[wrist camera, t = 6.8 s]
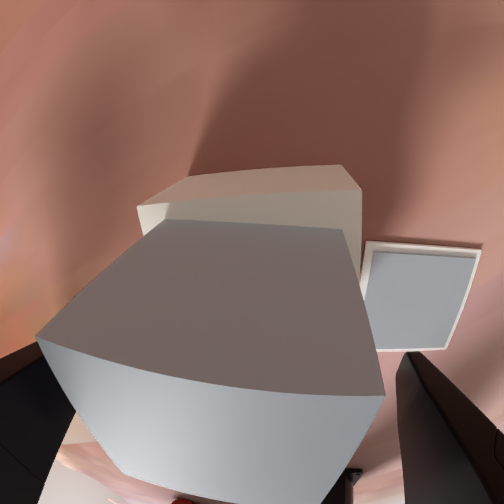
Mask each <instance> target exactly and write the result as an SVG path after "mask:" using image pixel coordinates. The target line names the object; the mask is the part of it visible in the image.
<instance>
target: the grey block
mask: <svg viewBox="0 0 504 504" xmlns="http://www.w3.org/2000/svg"><path fill="white" fill-rule="evenodd" d="M35 338H36V340H37V342H38V344H39V346H40V348H41V350H42V352H43V354H44V356H45V358H46V360H47V362H48V364H49V366H50V368H51V370H52V371H53V373H54V375H55V377H56V379H57V380H58V382H59V384H60V386H61V387H62V389H63V391H64V392H65V394H66V396H67V397H68V399H69V401H70V402H71V404H72V405H73V407H74V409H75V410H76V412H77V413H78V415H79V416H80V417H81V419H82V421H83V422H84V424H85V425H86V426H87V428H88V429H89V431H90V432H91V434H92V435H93V436H94V438H95V439H96V440H97V442H98V443H99V444H100V446H101V447H102V448H103V450H104V451H105V452H106V453H107V455H108V456H109V457H110V458H111V460H112V461H113V462H114V463H115V465H116V466H117V467H118V468H119V469H120V471H121V472H122V473H123V474H126V475H129V476H131V477H134V478H137V479H140V480H143V481H146V482H149V483H152V484H155V485H158V486H161V487H165V488H168V489H172V490H175V491H179V492H183V493H187V494H191V495H195V496H200V497H204V498H209V499H214V500H219V501H224V502H230V503H236V504H321V502H322V501H323V500H324V498H325V497H326V495H327V494H328V493H329V491H330V490H331V488H332V487H333V485H334V484H335V483H336V481H337V480H338V478H339V477H340V475H341V474H342V472H343V471H344V469H345V467H346V466H347V464H348V463H349V461H350V460H351V458H352V456H353V455H354V453H355V451H356V450H357V448H358V446H359V445H360V443H361V441H362V440H363V438H364V436H365V434H366V432H367V431H368V429H369V427H370V425H371V423H372V422H373V420H374V418H375V416H376V414H377V412H378V410H379V408H380V406H381V404H382V402H383V400H384V398H385V396H386V395H385V389H384V384H383V379H382V374H381V370H380V365H379V360H378V356H377V352H376V347H375V343H374V339H373V335H372V331H371V327H370V323H369V319H368V315H367V311H366V307H365V303H364V300H363V296H362V293H361V289H360V285H359V282H358V279H357V275H356V272H355V268H354V265H353V262H352V259H351V255H350V252H349V249H348V246H347V243H346V240H345V236H344V233H343V230H342V229H330V228H317V227H303V226H288V225H272V224H255V223H237V222H217V221H196V220H171V219H164V220H163V221H162V222H160V223H159V224H158V225H157V226H155V227H154V228H153V229H152V230H150V231H149V232H148V233H147V234H146V235H144V236H143V237H142V238H141V239H140V240H138V241H137V242H136V243H135V244H134V245H132V246H131V247H130V248H129V249H128V250H127V251H125V252H124V253H123V254H122V255H121V256H120V257H118V258H117V259H116V260H115V261H114V262H113V263H112V264H110V265H109V266H108V267H107V268H106V269H105V270H104V271H102V272H101V273H100V274H99V275H98V276H97V277H96V278H95V279H94V280H92V281H91V282H90V283H89V284H88V285H87V286H86V287H85V288H84V289H83V290H82V291H81V292H79V293H78V294H77V295H76V296H75V297H74V298H73V299H72V300H71V301H70V302H69V303H68V304H67V305H66V306H65V307H64V308H63V309H62V310H61V311H59V312H58V313H57V314H56V315H55V316H54V317H53V318H52V319H51V320H50V321H49V322H48V323H47V324H46V325H45V326H44V327H43V328H42V329H41V330H40V331H39V332H38V333H37V334H36V336H35Z"/></svg>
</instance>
